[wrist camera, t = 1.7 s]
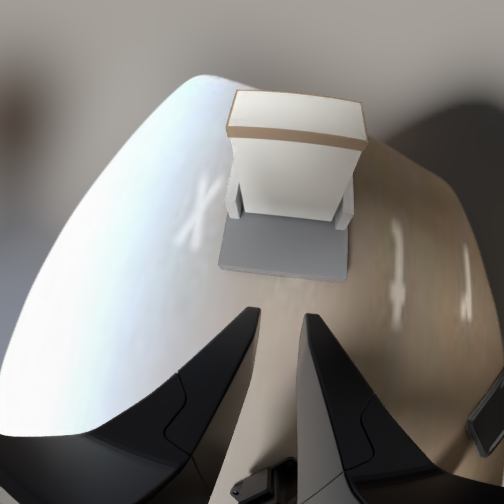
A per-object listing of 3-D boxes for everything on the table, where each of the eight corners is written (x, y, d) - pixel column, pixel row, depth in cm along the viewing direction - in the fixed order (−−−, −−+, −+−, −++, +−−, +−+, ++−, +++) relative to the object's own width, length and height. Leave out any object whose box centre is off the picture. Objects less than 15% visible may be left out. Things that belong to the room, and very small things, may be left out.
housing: (341, 282, 22) (357, 268, 18) (221, 269, 23) (209, 252, 19) (341, 149, 26) (351, 120, 22) (245, 139, 27) (241, 109, 23)
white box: (332, 222, 22) (368, 142, 12) (243, 213, 22) (225, 127, 13) (332, 189, 23) (361, 102, 13) (249, 180, 23) (236, 89, 14)
